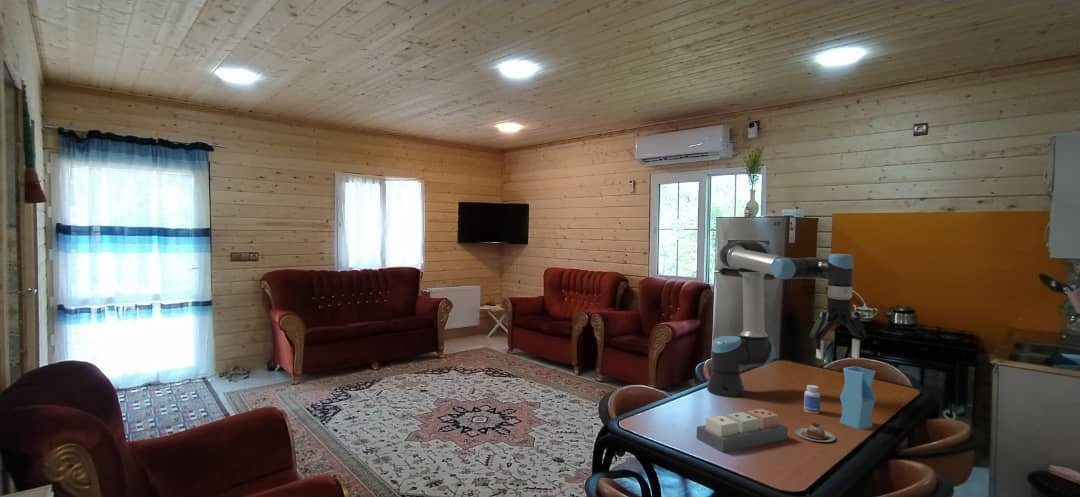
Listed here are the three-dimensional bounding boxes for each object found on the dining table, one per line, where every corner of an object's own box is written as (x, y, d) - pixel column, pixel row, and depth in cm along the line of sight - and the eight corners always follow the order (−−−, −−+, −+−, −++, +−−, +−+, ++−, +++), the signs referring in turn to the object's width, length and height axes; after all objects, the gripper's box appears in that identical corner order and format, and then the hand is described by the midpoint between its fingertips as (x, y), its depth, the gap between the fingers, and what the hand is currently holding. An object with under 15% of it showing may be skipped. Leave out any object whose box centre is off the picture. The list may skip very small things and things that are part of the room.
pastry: (834, 447, 171) (834, 433, 171) (793, 439, 177) (793, 426, 177) (836, 435, 181) (836, 422, 181) (797, 428, 187) (797, 415, 187)
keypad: (696, 438, 176) (696, 426, 175) (758, 426, 187) (759, 415, 187) (722, 452, 165) (723, 440, 165) (787, 439, 176) (787, 427, 176)
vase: (860, 430, 185) (862, 373, 185) (839, 422, 192) (841, 368, 192) (874, 426, 189) (876, 371, 188) (852, 419, 196) (854, 365, 195)
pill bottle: (821, 414, 201) (822, 389, 200) (806, 413, 202) (807, 387, 202) (817, 409, 206) (818, 384, 206) (802, 408, 207) (803, 383, 207)
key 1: (705, 430, 174) (705, 417, 174) (721, 427, 177) (722, 414, 177) (721, 437, 167) (721, 424, 167) (737, 434, 170) (738, 421, 170)
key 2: (726, 426, 178) (726, 414, 177) (742, 423, 180) (742, 411, 180) (742, 433, 171) (742, 421, 171) (758, 430, 174) (758, 418, 174)
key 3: (746, 422, 181) (746, 410, 181) (761, 419, 184) (761, 407, 184) (762, 429, 175) (763, 417, 175) (778, 426, 178) (778, 414, 178)
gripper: (813, 299, 180) (811, 361, 180) (880, 299, 183) (878, 360, 183) (799, 296, 187) (797, 355, 188) (864, 296, 190) (862, 355, 191)
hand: (837, 358), depth 186 cm, fingers open, 13 cm apart
